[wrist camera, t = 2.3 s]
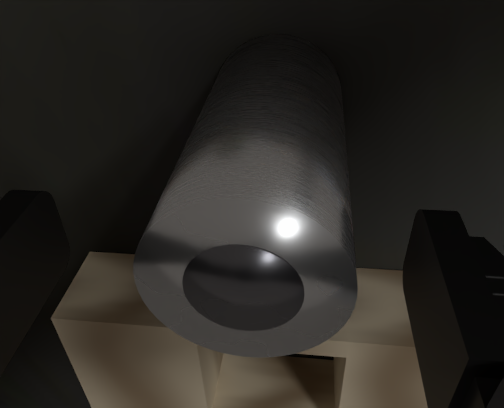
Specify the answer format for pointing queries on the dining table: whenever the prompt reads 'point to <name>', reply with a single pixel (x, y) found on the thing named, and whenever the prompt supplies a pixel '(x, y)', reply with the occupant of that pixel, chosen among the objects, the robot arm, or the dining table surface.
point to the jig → (230, 366)
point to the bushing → (257, 210)
